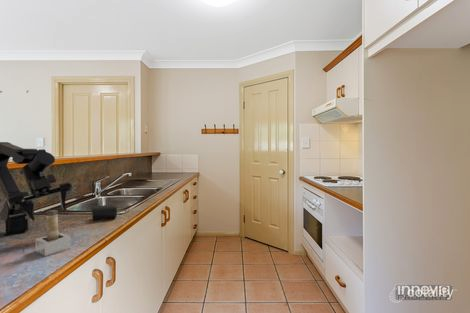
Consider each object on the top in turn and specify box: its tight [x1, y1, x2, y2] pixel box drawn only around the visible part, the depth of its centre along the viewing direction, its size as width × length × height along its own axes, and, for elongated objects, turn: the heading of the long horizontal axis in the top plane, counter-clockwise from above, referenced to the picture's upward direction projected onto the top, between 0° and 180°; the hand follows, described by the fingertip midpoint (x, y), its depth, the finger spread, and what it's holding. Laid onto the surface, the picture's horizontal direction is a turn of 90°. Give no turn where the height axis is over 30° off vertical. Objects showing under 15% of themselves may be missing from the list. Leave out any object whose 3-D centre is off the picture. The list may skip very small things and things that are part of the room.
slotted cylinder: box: [45, 209, 59, 242], centre depth 80 cm, size 3×3×13 cm
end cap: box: [91, 203, 118, 222], centre depth 115 cm, size 10×7×7 cm
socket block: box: [34, 232, 72, 257], centre depth 80 cm, size 7×7×4 cm
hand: (49, 215), depth 88 cm, fingers open, 9 cm apart
